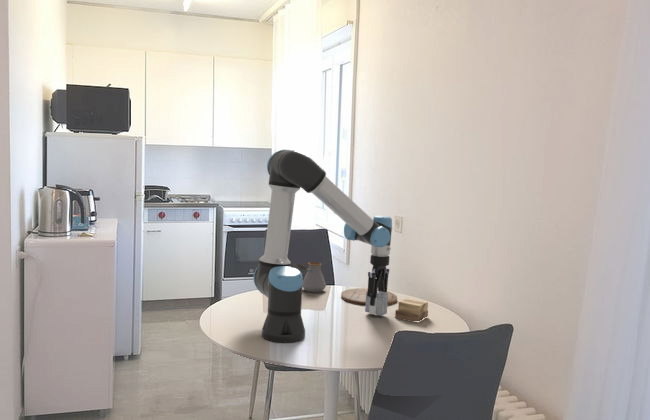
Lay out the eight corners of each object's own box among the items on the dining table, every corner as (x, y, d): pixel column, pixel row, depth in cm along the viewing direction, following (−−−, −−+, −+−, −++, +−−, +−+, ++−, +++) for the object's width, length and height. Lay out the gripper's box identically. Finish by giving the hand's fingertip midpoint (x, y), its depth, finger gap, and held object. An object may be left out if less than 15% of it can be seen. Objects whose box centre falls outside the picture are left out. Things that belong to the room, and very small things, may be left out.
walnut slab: (418, 323, 222) (418, 315, 221) (395, 318, 227) (395, 310, 227) (427, 318, 229) (428, 310, 229) (405, 313, 235) (405, 305, 234)
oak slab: (418, 314, 222) (419, 306, 221) (398, 310, 227) (398, 301, 226) (427, 310, 228) (428, 302, 228) (407, 306, 233) (407, 298, 233)
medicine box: (387, 313, 228) (388, 292, 228) (382, 316, 225) (383, 294, 224) (369, 309, 233) (371, 289, 232) (364, 312, 229) (366, 290, 228)
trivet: (338, 304, 244) (338, 300, 244) (343, 290, 269) (343, 286, 269) (397, 308, 241) (397, 304, 241) (396, 294, 266) (396, 290, 266)
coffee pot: (310, 286, 273) (311, 255, 271) (330, 290, 267) (332, 258, 265) (283, 294, 255) (285, 261, 253) (304, 299, 249) (306, 265, 247)
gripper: (377, 258, 217) (373, 318, 219) (398, 253, 231) (394, 309, 234) (360, 255, 221) (356, 314, 223) (382, 251, 236) (378, 306, 238)
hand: (375, 311), depth 229 cm, fingers closed on medicine box, 4 cm apart
